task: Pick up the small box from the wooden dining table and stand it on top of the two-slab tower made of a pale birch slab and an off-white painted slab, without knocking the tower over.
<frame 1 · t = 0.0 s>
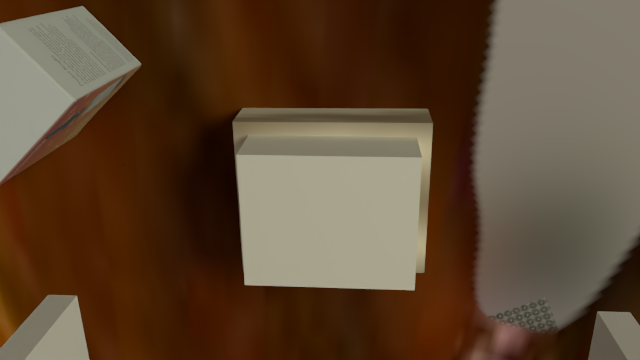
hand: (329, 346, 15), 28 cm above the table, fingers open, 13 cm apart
small box: (81, 71, 42), on the table
tower top slab: (331, 199, 41), point 3 cm above the table, touching tower base slab
tower base slab: (334, 178, 44), on the table, touching tower top slab
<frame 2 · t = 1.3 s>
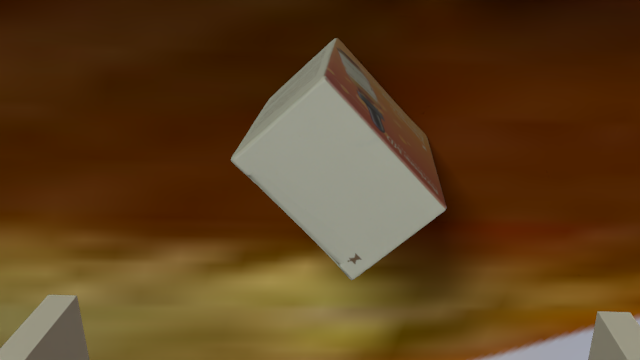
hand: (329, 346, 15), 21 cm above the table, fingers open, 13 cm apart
small box: (347, 116, 35), on the table
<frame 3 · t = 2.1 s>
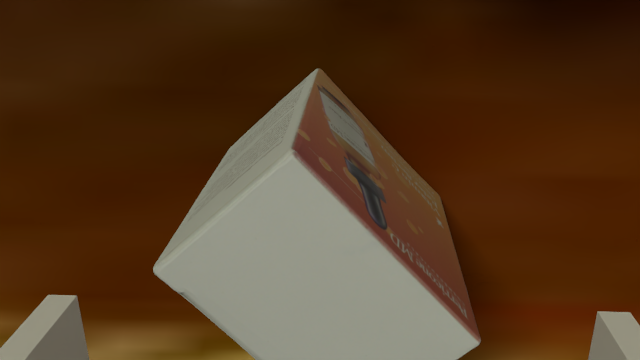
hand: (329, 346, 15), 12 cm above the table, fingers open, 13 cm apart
small box: (334, 170, 26), on the table
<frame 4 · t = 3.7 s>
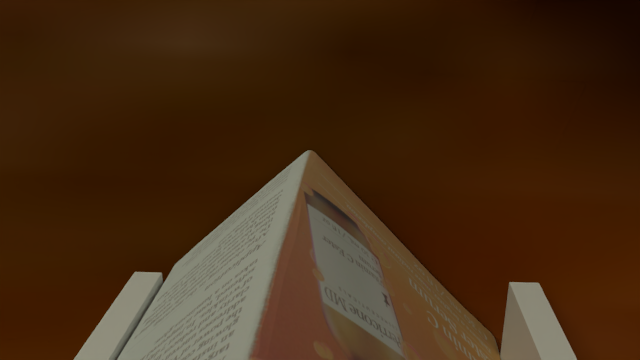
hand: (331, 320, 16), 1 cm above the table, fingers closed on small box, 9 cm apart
small box: (334, 293, 18), on the table, touching gripper
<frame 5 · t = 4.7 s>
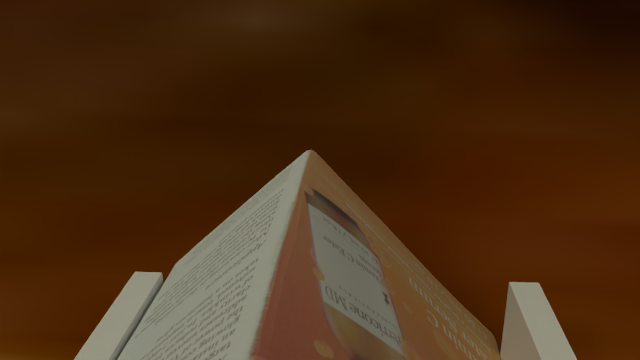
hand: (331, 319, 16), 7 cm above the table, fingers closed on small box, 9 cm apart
small box: (334, 292, 18), point 6 cm above the table, touching gripper
when the fingers open (10 cm above the table, at t = 9.4 s): small box drops 2 cm, resting on tower top slab.
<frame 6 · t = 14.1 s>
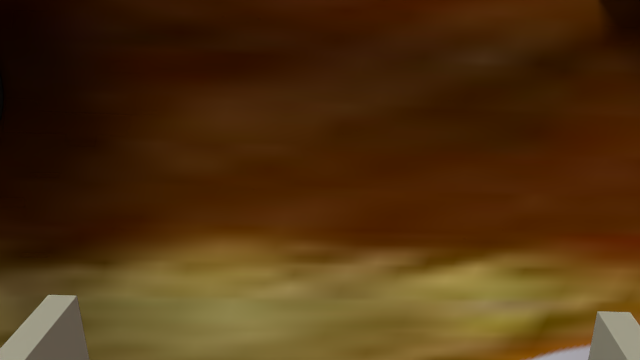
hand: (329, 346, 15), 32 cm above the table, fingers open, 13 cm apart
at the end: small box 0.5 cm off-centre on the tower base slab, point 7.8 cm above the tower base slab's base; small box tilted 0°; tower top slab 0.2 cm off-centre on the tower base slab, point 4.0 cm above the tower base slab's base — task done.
